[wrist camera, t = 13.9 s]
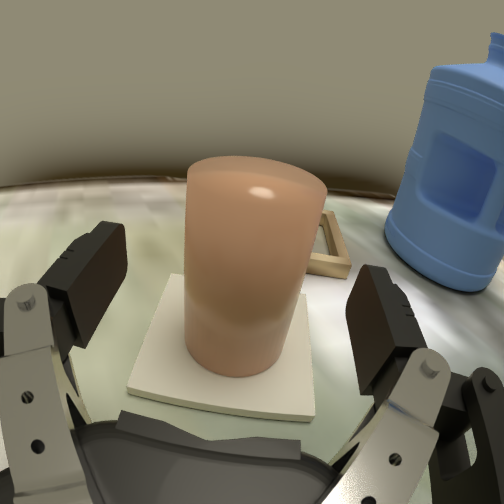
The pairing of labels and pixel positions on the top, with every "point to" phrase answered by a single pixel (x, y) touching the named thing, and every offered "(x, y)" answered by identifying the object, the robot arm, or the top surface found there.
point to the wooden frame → (331, 251)
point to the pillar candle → (245, 258)
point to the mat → (220, 386)
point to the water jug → (455, 177)
